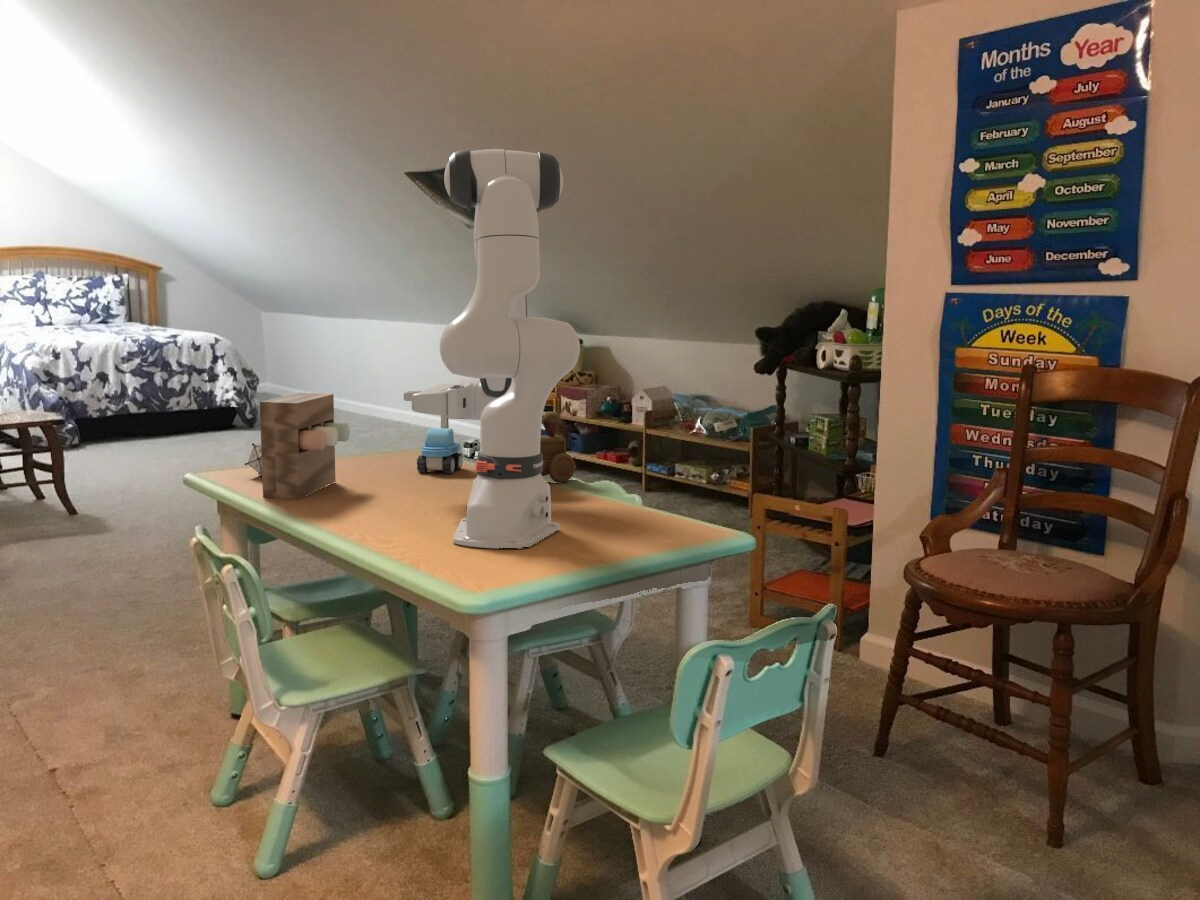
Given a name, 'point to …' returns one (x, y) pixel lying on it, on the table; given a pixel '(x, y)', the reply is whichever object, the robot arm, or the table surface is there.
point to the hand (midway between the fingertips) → (405, 395)
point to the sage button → (340, 430)
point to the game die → (256, 459)
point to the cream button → (328, 434)
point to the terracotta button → (312, 440)
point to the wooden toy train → (555, 451)
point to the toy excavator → (440, 450)
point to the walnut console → (295, 445)
